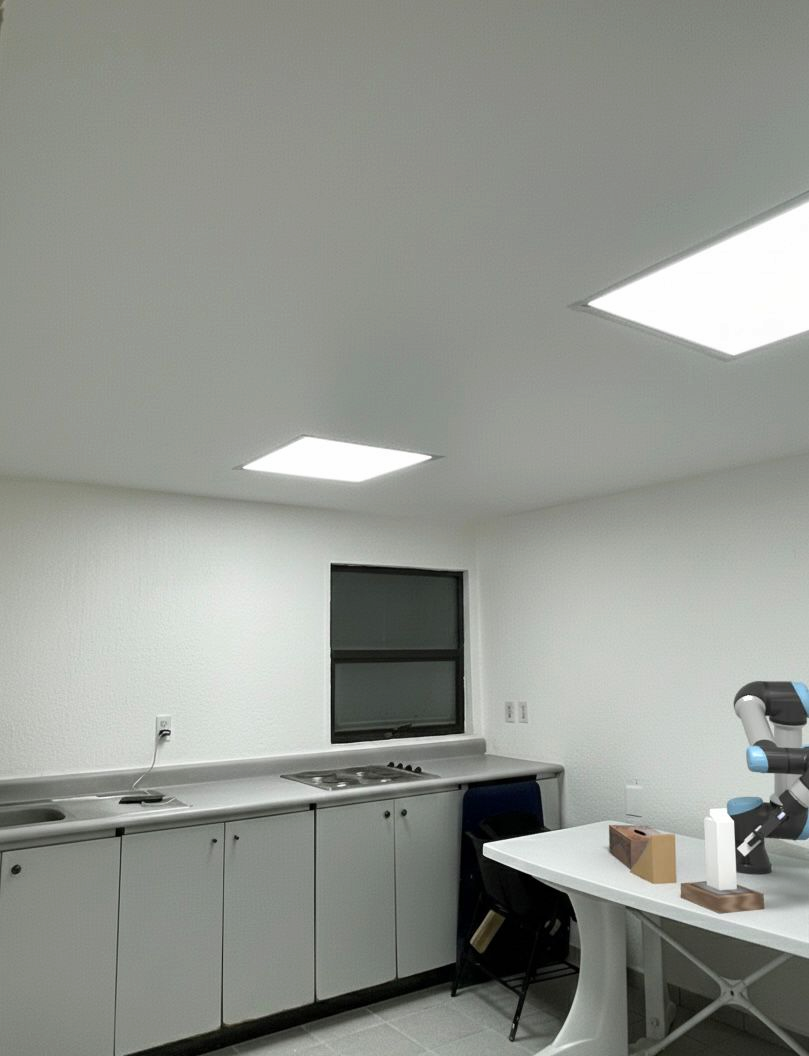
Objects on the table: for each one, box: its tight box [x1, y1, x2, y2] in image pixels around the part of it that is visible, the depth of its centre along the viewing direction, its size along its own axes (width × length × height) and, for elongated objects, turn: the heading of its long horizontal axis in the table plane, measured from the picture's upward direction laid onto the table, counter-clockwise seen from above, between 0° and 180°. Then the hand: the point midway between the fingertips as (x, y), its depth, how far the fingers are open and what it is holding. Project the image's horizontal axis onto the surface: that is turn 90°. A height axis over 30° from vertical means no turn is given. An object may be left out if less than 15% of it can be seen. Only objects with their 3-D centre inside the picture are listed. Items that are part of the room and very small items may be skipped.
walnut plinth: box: [680, 880, 765, 914], centre depth 234 cm, size 16×16×4 cm
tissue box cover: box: [608, 824, 662, 871], centre depth 283 cm, size 26×14×10 cm, turn 2°
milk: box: [703, 807, 738, 890], centre depth 236 cm, size 6×6×22 cm
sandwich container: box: [629, 833, 677, 885], centre depth 262 cm, size 9×15×15 cm, turn 14°
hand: (744, 847), depth 233 cm, fingers open, 13 cm apart
